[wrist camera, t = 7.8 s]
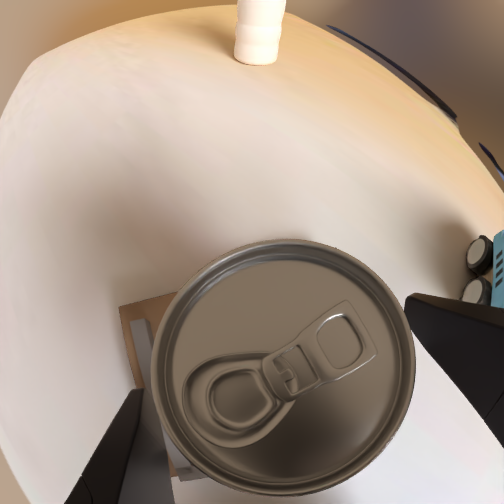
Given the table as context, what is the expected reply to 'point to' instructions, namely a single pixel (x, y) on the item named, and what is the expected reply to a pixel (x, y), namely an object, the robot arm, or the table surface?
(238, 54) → the water bottle
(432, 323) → the robot arm
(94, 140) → the table surface
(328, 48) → the table surface
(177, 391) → the can
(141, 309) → the dock
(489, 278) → the toy excavator
